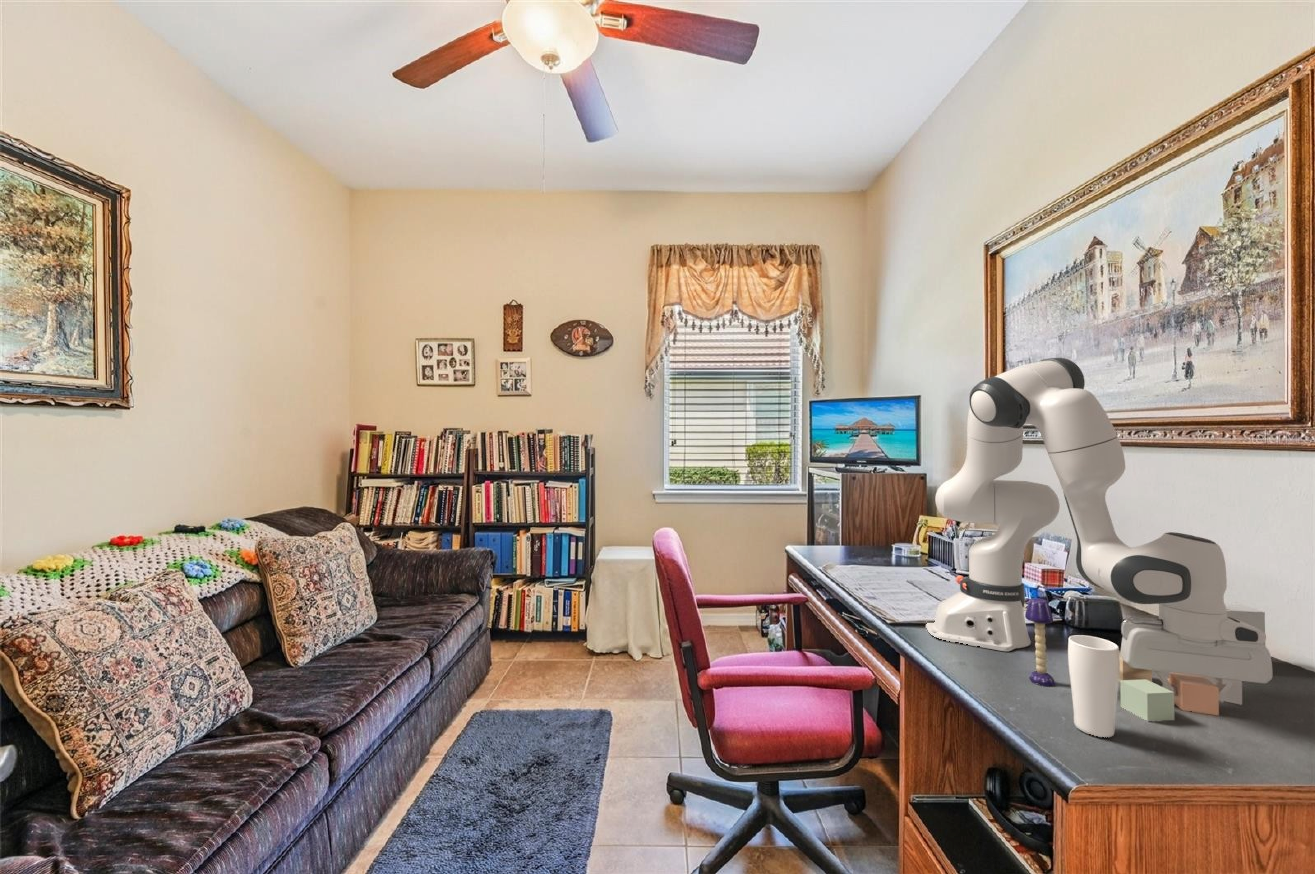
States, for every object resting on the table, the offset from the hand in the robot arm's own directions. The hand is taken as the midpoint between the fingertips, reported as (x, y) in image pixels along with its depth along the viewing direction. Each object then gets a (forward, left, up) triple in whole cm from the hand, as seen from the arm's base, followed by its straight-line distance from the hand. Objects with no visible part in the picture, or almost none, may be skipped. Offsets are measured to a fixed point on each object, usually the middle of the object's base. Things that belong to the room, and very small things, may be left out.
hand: (1192, 697), depth 97 cm
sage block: (-9, -6, -2) cm, 11 cm away
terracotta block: (0, 0, -2) cm, 2 cm away
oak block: (-6, +9, -2) cm, 11 cm away
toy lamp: (-23, +2, -2) cm, 23 cm away
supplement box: (+18, +26, -2) cm, 32 cm away
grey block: (+7, +7, -2) cm, 10 cm away
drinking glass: (-20, -16, -2) cm, 26 cm away
